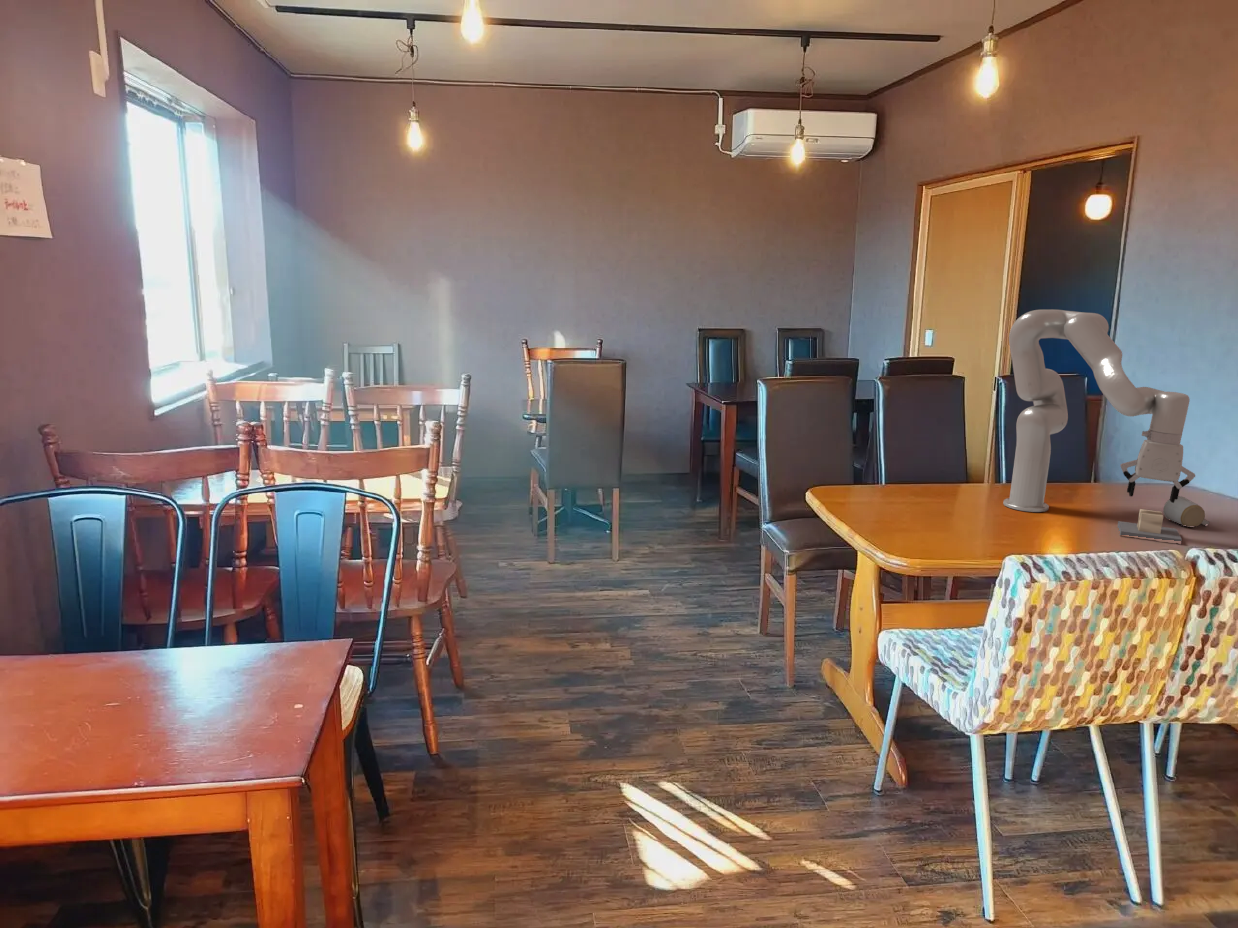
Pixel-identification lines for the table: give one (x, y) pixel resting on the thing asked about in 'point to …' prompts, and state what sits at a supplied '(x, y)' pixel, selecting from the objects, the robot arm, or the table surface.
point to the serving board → (1133, 530)
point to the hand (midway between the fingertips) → (1151, 498)
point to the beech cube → (1150, 521)
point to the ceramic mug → (1184, 512)
